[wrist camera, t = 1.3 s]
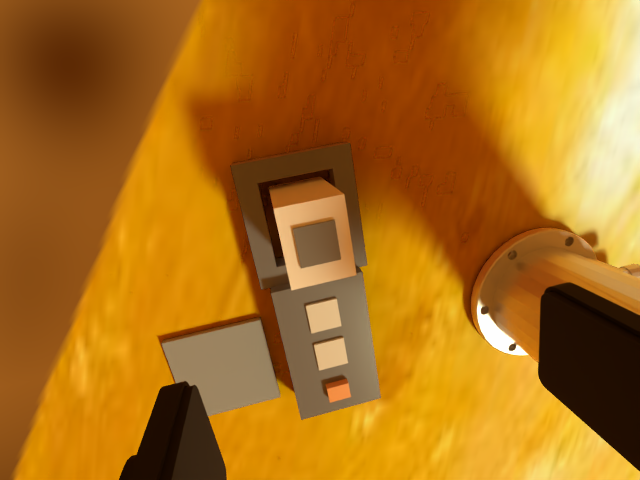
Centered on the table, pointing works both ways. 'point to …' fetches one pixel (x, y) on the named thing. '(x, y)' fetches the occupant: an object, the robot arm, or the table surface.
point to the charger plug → (313, 232)
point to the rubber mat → (225, 365)
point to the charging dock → (314, 289)
